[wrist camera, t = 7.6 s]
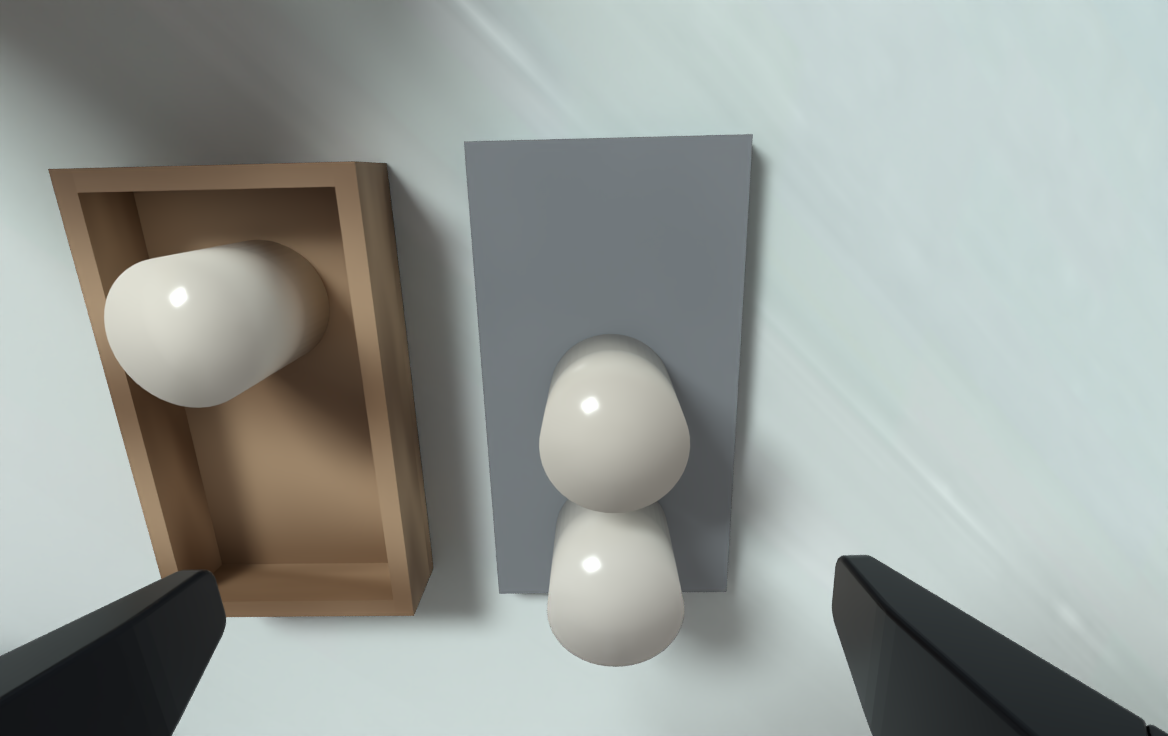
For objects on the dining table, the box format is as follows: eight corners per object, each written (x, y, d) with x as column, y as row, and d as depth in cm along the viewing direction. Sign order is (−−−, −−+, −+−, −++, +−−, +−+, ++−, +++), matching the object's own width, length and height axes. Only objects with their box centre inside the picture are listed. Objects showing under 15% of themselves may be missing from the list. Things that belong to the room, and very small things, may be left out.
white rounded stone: (666, 577, 21) (682, 666, 17) (558, 578, 21) (549, 667, 17) (668, 479, 20) (686, 552, 16) (553, 481, 20) (544, 552, 16)
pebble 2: (668, 447, 20) (687, 513, 16) (551, 448, 20) (542, 513, 16) (672, 333, 18) (693, 375, 15) (548, 334, 19) (536, 375, 15)
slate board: (721, 577, 22) (726, 591, 21) (502, 579, 22) (499, 593, 21) (745, 136, 17) (752, 134, 17) (469, 142, 18) (463, 141, 17)
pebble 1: (338, 359, 19) (272, 405, 15) (222, 362, 19) (128, 409, 16) (318, 237, 18) (240, 254, 14) (193, 241, 18) (84, 260, 14)
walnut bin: (433, 568, 22) (413, 615, 20) (217, 570, 22) (172, 617, 20) (386, 163, 18) (354, 161, 15) (120, 170, 18) (48, 169, 16)
